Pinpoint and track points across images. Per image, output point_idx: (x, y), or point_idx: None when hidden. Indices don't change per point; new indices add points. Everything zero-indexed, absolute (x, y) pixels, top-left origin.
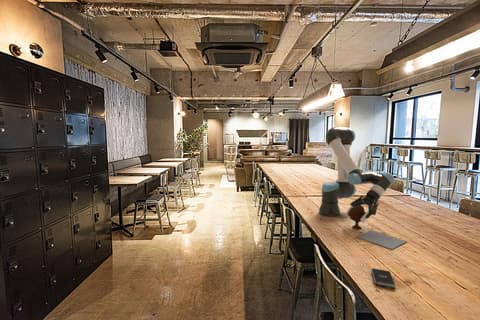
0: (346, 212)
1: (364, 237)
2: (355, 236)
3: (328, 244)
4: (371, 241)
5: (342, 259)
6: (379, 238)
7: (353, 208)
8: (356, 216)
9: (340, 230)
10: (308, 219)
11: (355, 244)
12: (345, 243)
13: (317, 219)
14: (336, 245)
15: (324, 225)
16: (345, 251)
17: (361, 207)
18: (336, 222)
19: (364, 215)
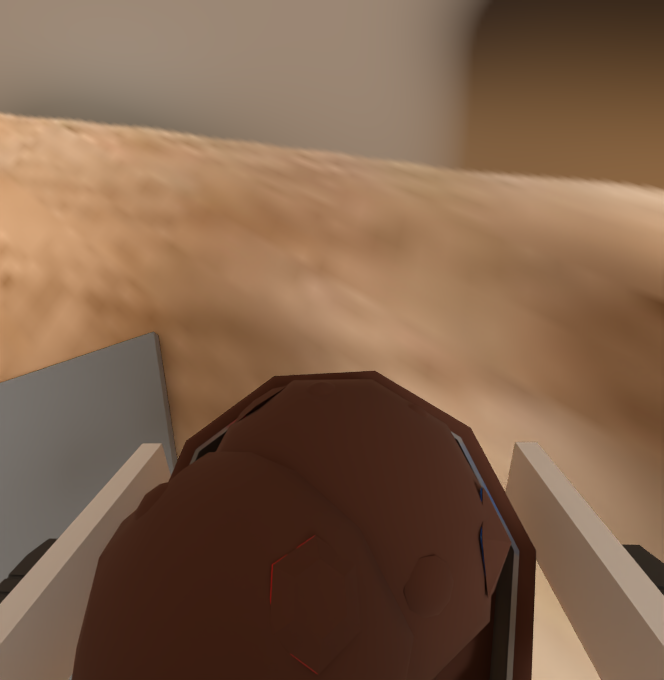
0: (543, 457)
1: (98, 388)
2: (151, 332)
3: (158, 141)
4: (15, 384)
5: (11, 127)
6: (2, 513)
7: (313, 415)
8: (222, 424)
9: (324, 314)
10: (641, 208)
11: (75, 262)
12: (120, 219)
13: (650, 276)
14: (127, 167)
15: (467, 256)
16: (51, 171)
17: (90, 618)
18: (551, 409)
19: (74, 530)
